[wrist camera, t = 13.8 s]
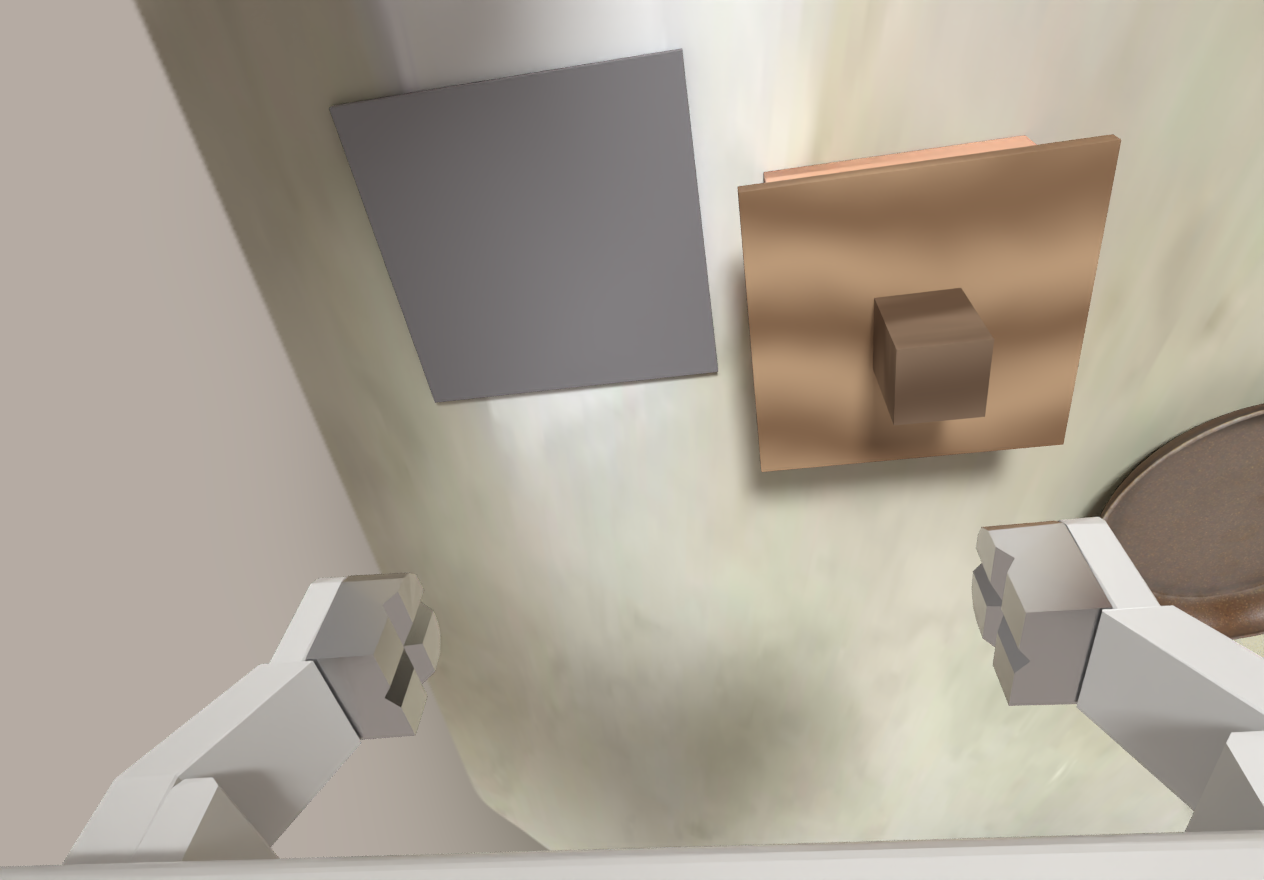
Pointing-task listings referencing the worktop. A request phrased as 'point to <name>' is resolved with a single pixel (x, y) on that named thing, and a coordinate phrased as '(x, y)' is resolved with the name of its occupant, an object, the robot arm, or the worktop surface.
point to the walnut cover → (922, 302)
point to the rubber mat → (540, 226)
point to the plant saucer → (1201, 522)
